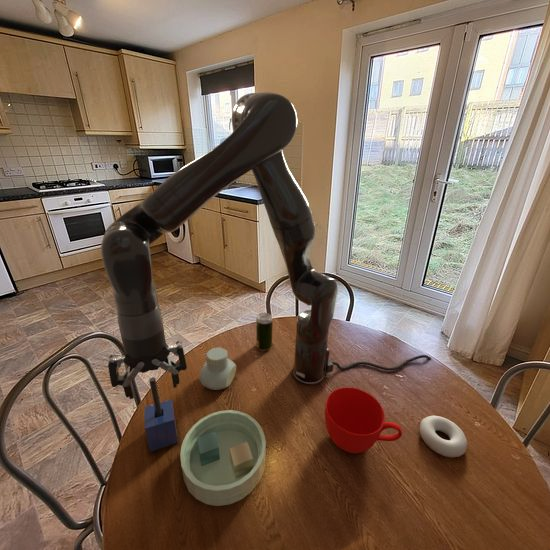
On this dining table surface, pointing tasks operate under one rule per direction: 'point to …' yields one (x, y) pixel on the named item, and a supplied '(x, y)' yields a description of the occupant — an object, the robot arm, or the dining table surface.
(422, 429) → the donut
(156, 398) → the stick
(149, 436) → the holder
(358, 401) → the ceramic cup
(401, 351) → the dining table surface
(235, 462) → the cream block
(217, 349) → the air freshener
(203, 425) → the bowl
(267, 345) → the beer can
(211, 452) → the teal block
